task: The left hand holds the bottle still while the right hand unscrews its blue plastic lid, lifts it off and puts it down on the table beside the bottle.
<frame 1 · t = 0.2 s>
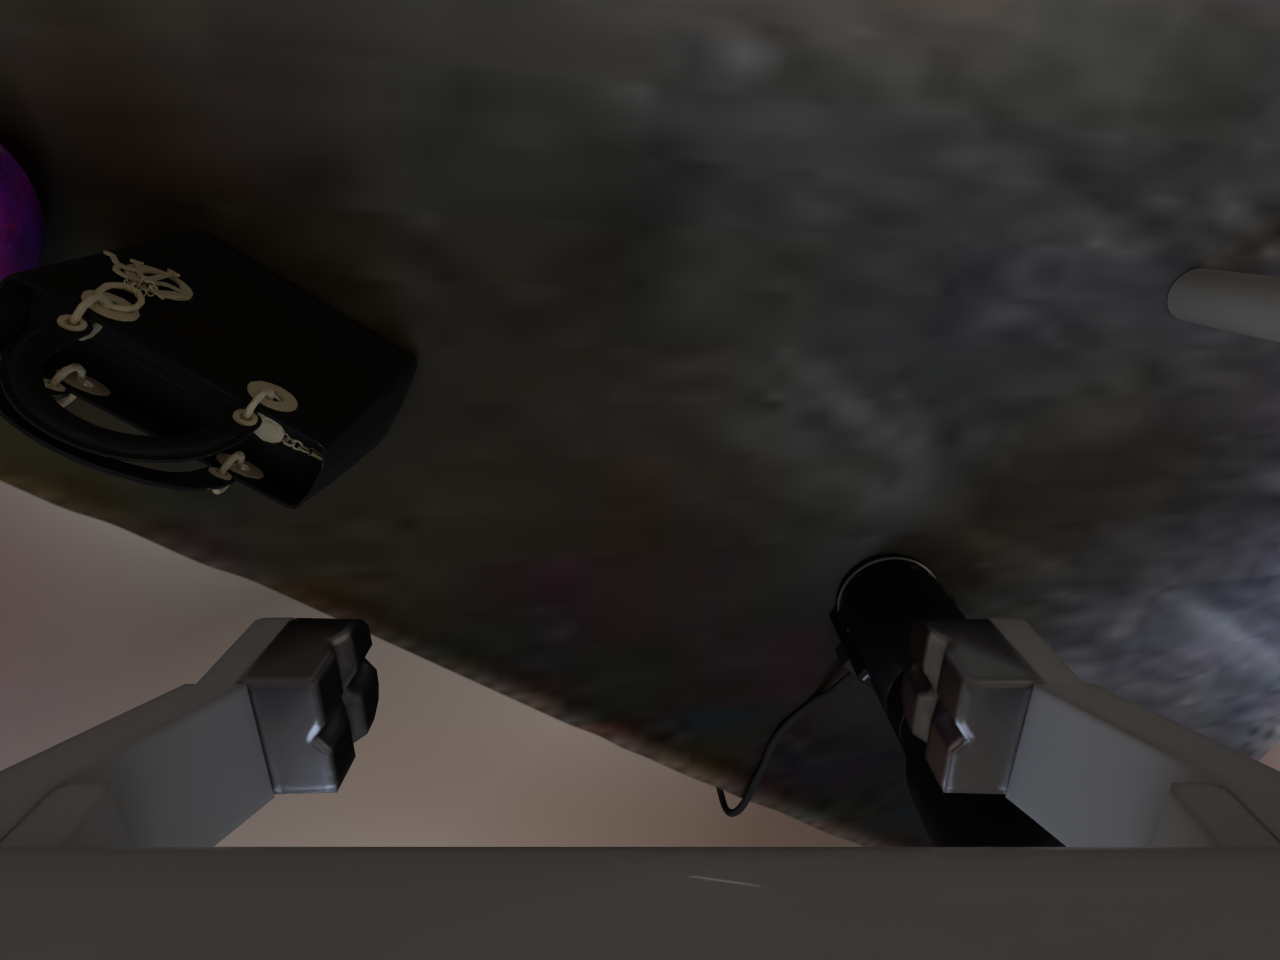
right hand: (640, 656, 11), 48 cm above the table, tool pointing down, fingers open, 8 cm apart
bottle: (1193, 295, 55), on the table
handbag: (293, 343, 57), on the table
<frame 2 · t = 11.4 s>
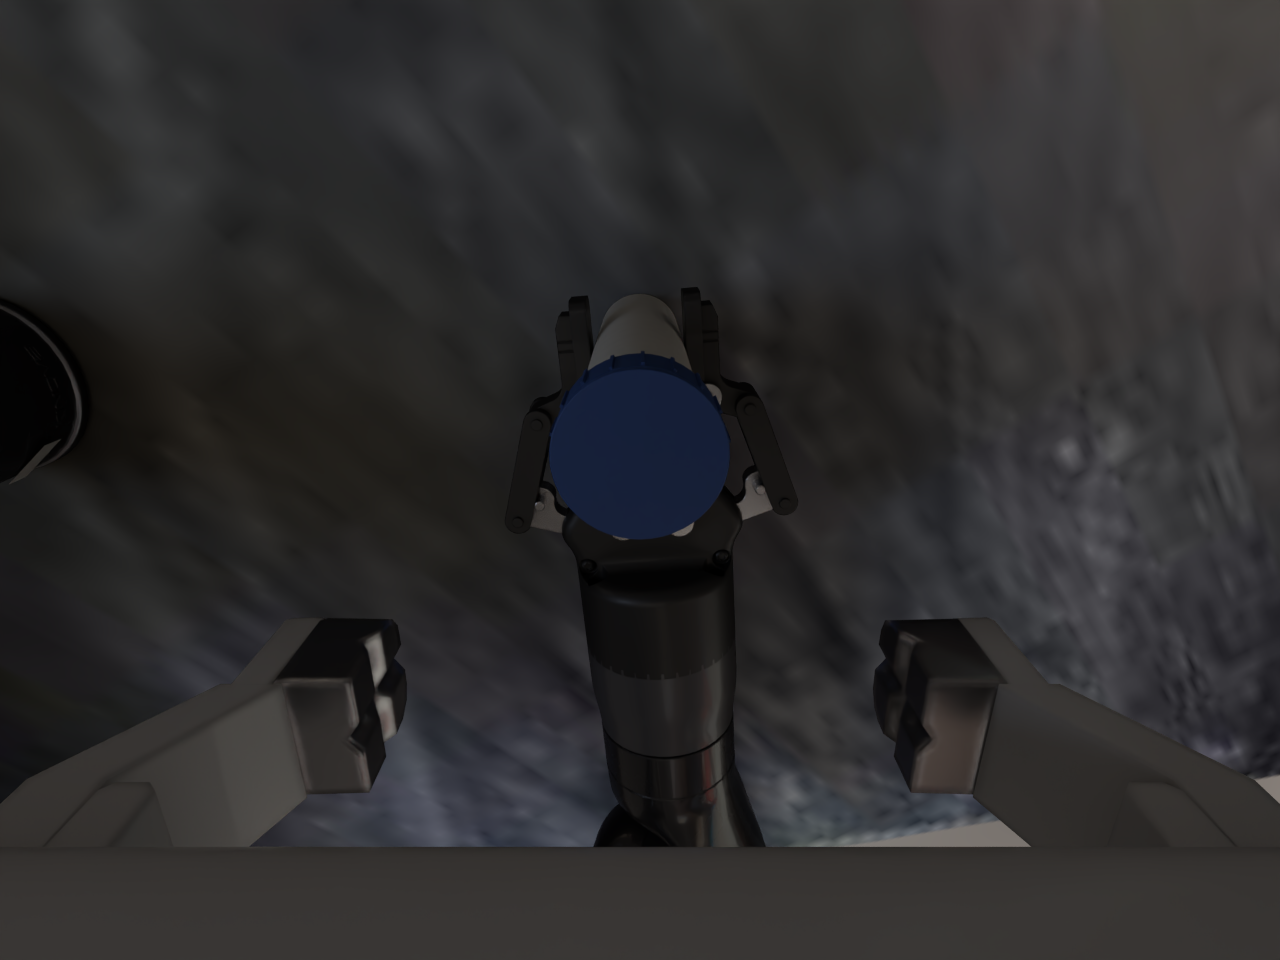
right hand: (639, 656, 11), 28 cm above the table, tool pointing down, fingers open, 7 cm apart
left hand: (633, 296, 30), fingers closed on bottle, 4 cm apart
lid: (639, 454, 19), point 19 cm above the table, screwed on, not yet turned
bottle: (639, 333, 37), on the table, touching left hand
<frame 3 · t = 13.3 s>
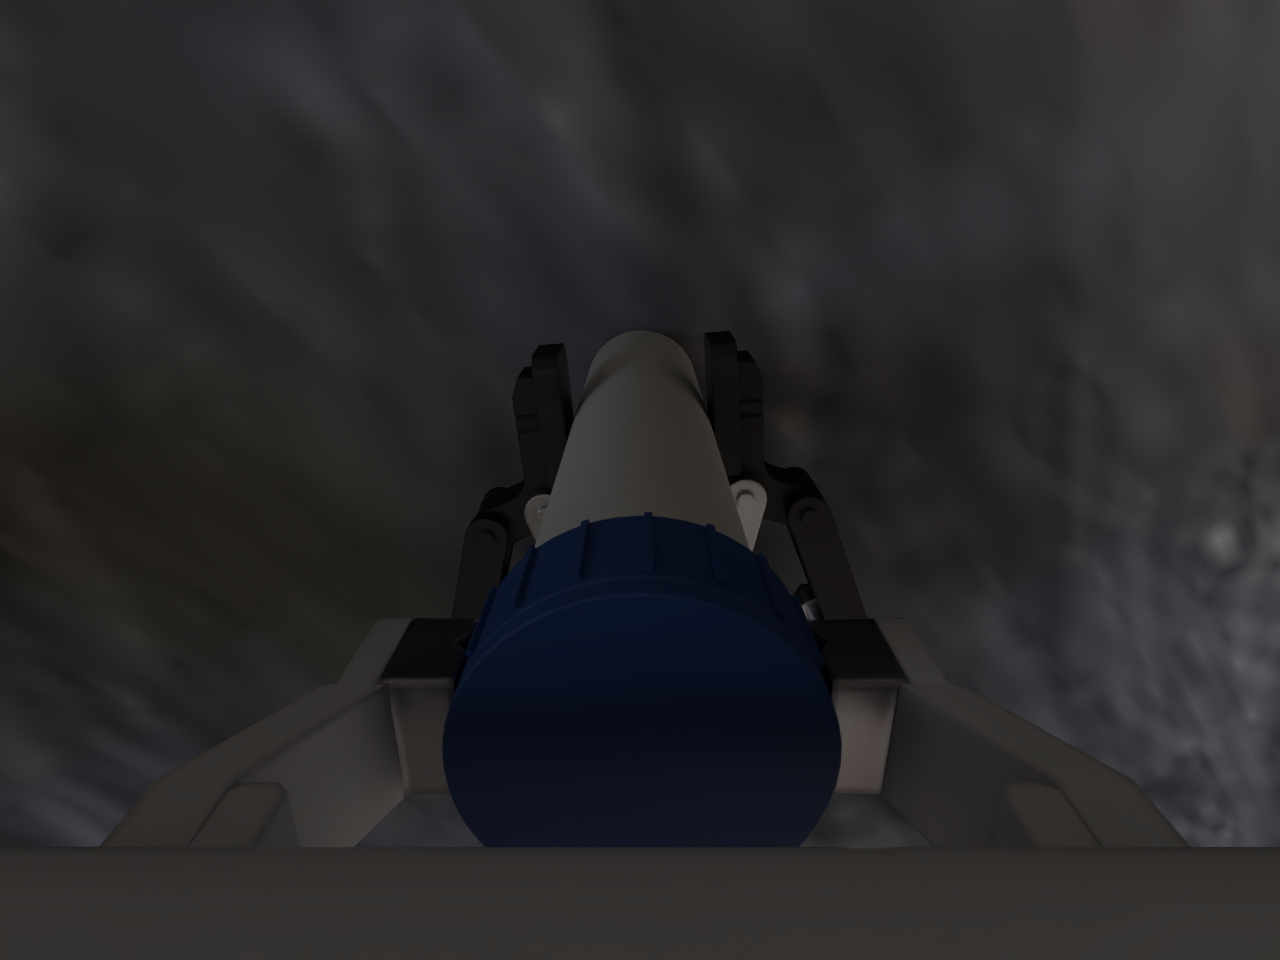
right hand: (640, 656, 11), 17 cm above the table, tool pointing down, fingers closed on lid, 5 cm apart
lid: (641, 746, 9), point 19 cm above the table, screwed on, not yet turned, touching right hand
bottle: (641, 384, 27), on the table, touching left hand
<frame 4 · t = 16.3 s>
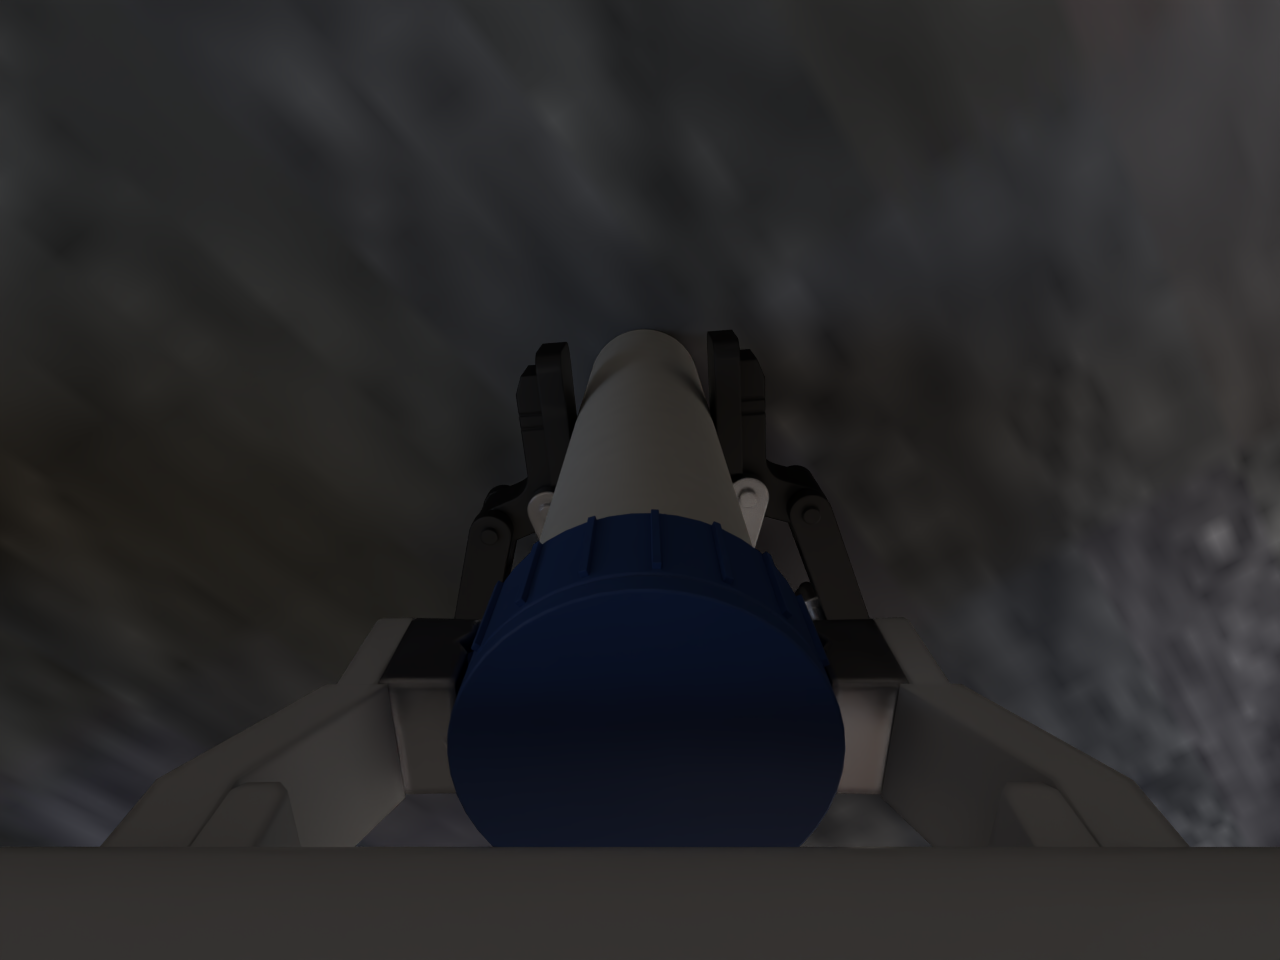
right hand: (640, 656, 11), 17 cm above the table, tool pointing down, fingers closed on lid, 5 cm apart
lid: (645, 743, 9), point 19 cm above the table, turned 79° so far, risen 0.1 cm, still on its thread, touching right hand
bottle: (644, 383, 27), on the table, touching left hand
when the right hand's fingers open (2 cm above the table, at t = 34.6 s): lid drops 2 cm, point 2 cm above the table.
when the left hand's fingers open (7 cm above the table, at t = 35.7 s): bottle stays where it is, on the table.
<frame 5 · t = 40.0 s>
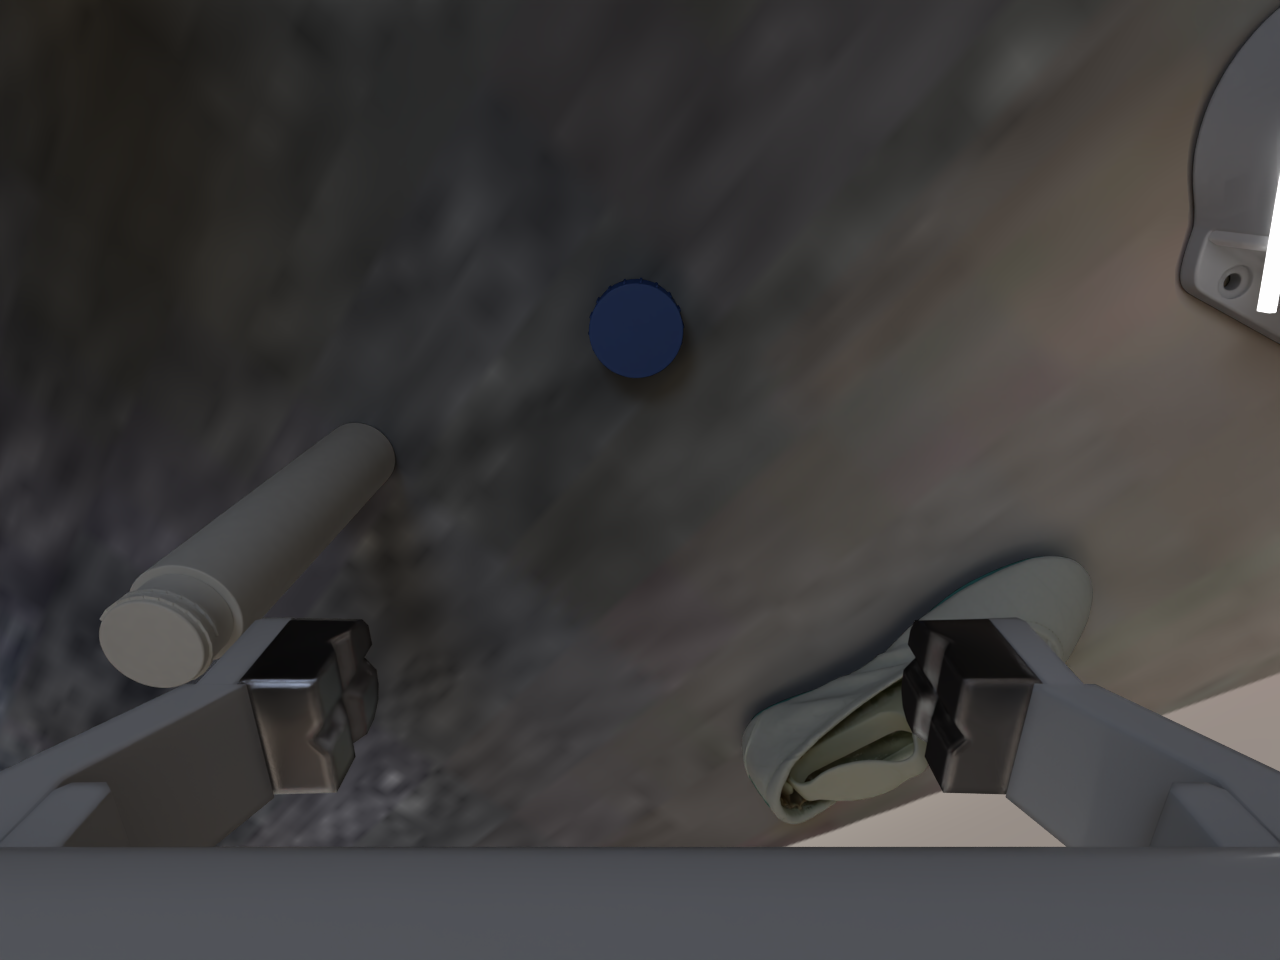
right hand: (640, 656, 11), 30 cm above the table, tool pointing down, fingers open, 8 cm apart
lid: (636, 330, 37), point 2 cm above the table, off its thread
bottle: (360, 455, 41), on the table
ballet flat: (902, 664, 46), on the table
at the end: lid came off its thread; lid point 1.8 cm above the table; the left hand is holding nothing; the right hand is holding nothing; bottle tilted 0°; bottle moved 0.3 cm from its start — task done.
